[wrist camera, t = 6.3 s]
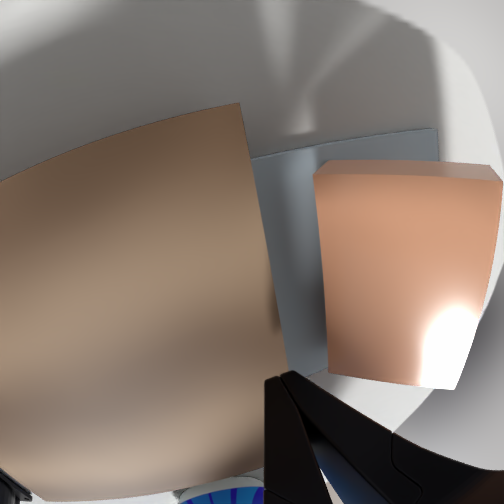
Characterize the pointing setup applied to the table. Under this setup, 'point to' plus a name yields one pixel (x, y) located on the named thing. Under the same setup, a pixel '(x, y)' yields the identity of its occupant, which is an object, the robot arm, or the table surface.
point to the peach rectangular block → (405, 265)
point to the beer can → (225, 492)
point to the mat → (313, 231)
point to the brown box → (136, 313)
